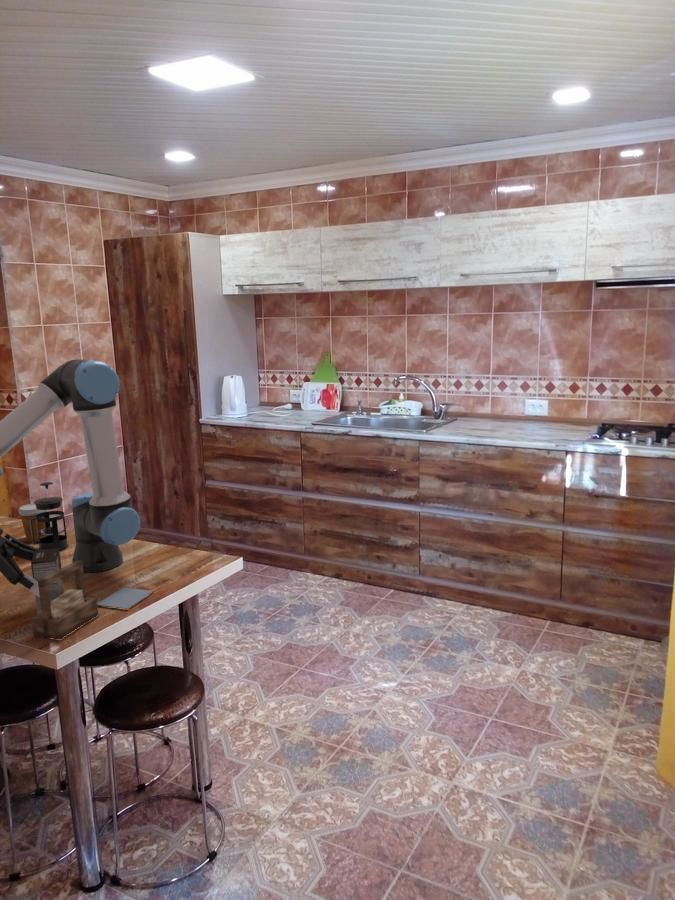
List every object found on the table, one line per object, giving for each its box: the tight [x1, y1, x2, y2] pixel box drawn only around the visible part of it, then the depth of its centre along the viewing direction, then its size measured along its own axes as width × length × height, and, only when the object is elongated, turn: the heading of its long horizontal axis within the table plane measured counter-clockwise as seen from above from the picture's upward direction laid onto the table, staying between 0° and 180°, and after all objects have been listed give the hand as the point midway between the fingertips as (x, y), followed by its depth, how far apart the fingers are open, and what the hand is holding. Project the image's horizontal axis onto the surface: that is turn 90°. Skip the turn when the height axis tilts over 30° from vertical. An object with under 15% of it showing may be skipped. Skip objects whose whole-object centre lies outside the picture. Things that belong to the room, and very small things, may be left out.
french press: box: [30, 481, 69, 552], centre depth 226 cm, size 12×9×23 cm
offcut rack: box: [31, 560, 99, 639], centre depth 168 cm, size 14×8×15 cm, turn 161°
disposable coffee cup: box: [18, 502, 48, 543], centre depth 237 cm, size 10×10×12 cm
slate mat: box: [97, 586, 153, 609], centre depth 185 cm, size 12×10×1 cm
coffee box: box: [30, 548, 65, 615], centre depth 177 cm, size 9×6×16 cm
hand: (49, 583), depth 177 cm, fingers open, 13 cm apart
